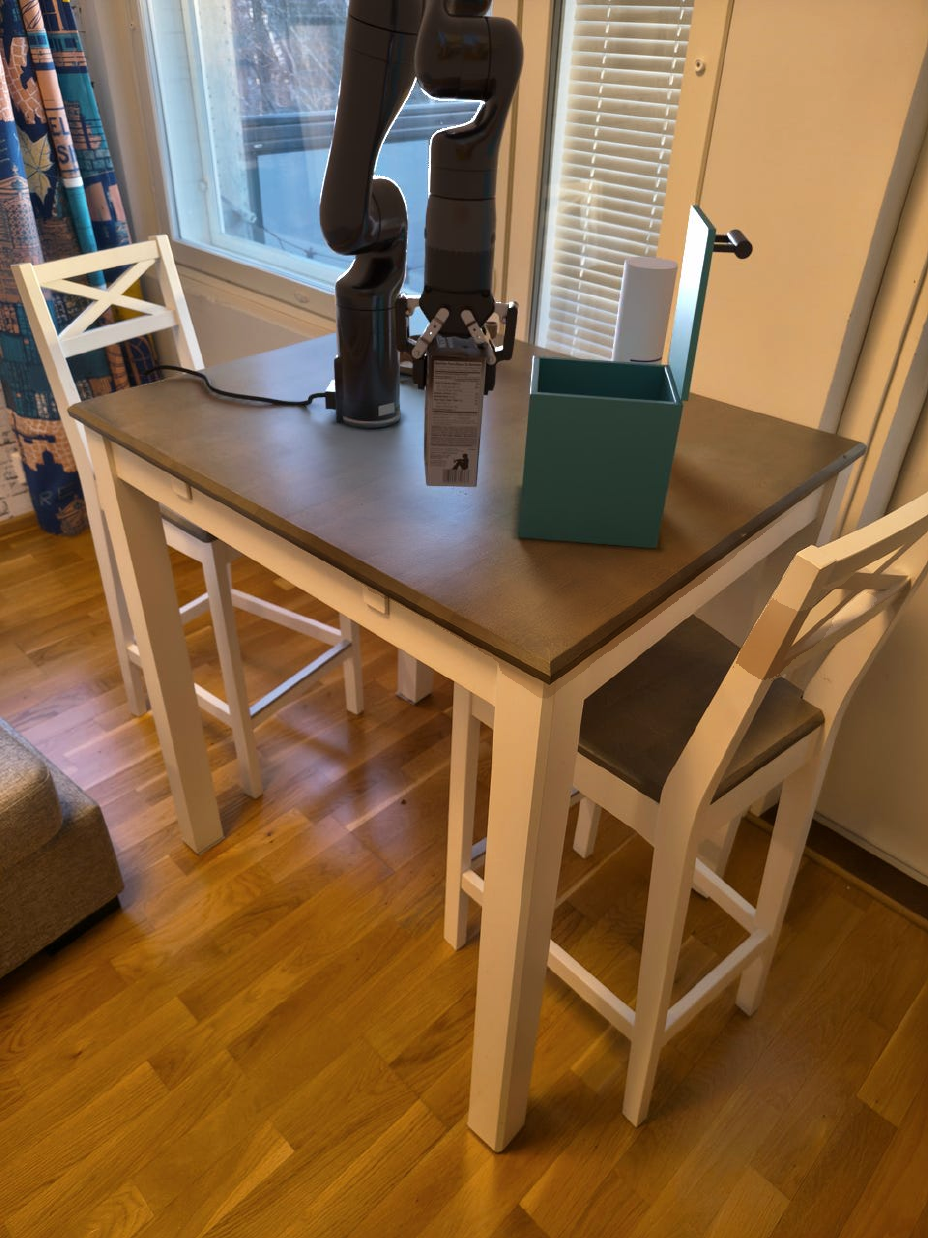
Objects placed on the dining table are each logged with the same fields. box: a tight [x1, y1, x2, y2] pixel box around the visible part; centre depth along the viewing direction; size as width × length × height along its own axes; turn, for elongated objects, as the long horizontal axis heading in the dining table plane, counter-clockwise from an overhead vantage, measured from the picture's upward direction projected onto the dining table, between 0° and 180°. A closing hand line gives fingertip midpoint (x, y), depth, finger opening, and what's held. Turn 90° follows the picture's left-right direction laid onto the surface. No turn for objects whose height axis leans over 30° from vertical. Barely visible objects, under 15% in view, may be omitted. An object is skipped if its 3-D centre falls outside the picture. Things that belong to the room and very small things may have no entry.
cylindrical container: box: [610, 256, 679, 364], centre depth 127 cm, size 7×7×25 cm
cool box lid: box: [667, 204, 754, 402], centre depth 96 cm, size 17×14×5 cm
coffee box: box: [423, 333, 487, 488], centre depth 105 cm, size 9×6×16 cm
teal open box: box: [517, 355, 684, 549], centre depth 107 cm, size 17×14×18 cm
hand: (453, 390), depth 104 cm, fingers closed on coffee box, 7 cm apart
